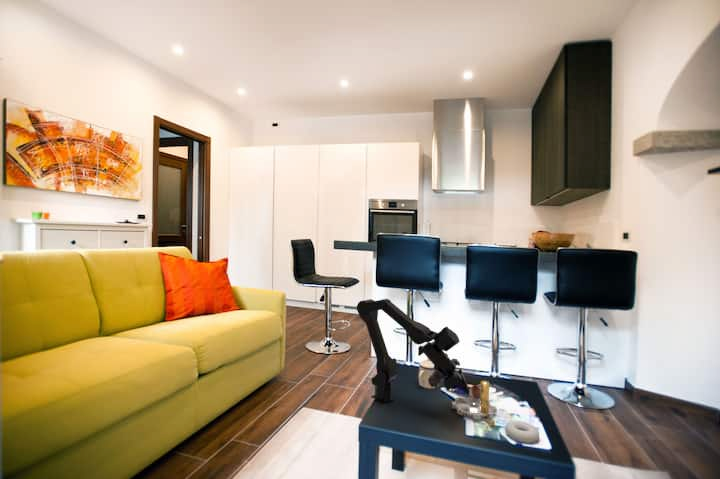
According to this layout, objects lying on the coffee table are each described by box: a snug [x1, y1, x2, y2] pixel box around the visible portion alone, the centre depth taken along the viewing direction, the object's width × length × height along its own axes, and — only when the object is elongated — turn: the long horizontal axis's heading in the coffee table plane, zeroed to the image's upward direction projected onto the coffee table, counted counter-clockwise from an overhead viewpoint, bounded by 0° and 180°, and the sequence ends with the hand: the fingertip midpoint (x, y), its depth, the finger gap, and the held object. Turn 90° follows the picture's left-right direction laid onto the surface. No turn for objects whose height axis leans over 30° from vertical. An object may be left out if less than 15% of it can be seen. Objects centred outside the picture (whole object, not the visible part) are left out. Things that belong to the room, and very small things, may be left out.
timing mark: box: [484, 418, 496, 426], centre depth 124 cm, size 2×2×1 cm
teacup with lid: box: [418, 357, 440, 390], centre depth 156 cm, size 12×9×12 cm
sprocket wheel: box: [451, 380, 498, 420], centre depth 132 cm, size 15×15×12 cm
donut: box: [505, 420, 540, 444], centre depth 117 cm, size 10×4×10 cm
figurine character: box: [450, 374, 485, 400], centre depth 149 cm, size 7×8×15 cm
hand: (468, 392), depth 127 cm, fingers closed
